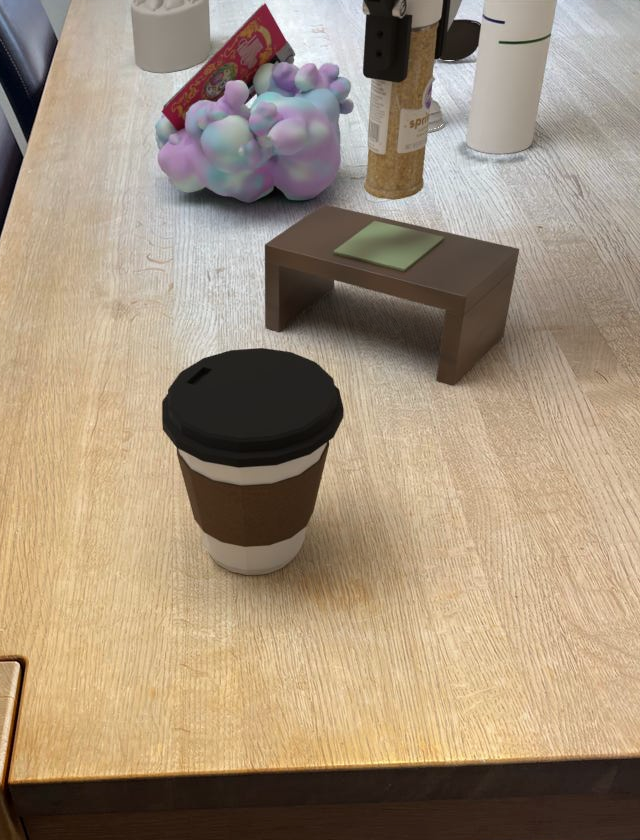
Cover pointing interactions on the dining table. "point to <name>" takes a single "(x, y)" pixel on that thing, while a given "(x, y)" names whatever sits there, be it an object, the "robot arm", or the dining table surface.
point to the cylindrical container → (509, 74)
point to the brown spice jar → (403, 113)
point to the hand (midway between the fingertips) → (404, 64)
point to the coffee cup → (252, 451)
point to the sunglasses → (461, 39)
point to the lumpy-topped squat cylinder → (170, 34)
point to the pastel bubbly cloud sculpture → (255, 120)
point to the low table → (395, 276)
